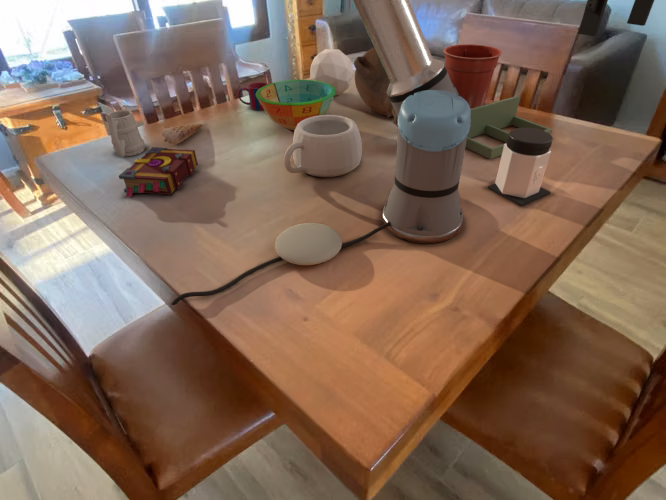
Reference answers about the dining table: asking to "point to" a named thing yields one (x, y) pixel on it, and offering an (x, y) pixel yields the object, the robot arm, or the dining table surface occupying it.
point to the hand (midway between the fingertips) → (612, 29)
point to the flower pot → (471, 70)
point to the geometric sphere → (332, 69)
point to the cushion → (308, 244)
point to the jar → (523, 162)
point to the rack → (496, 125)
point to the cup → (253, 95)
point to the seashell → (180, 133)
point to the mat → (519, 200)
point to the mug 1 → (124, 133)
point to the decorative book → (159, 171)
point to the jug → (374, 84)
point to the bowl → (295, 100)
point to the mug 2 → (325, 146)
